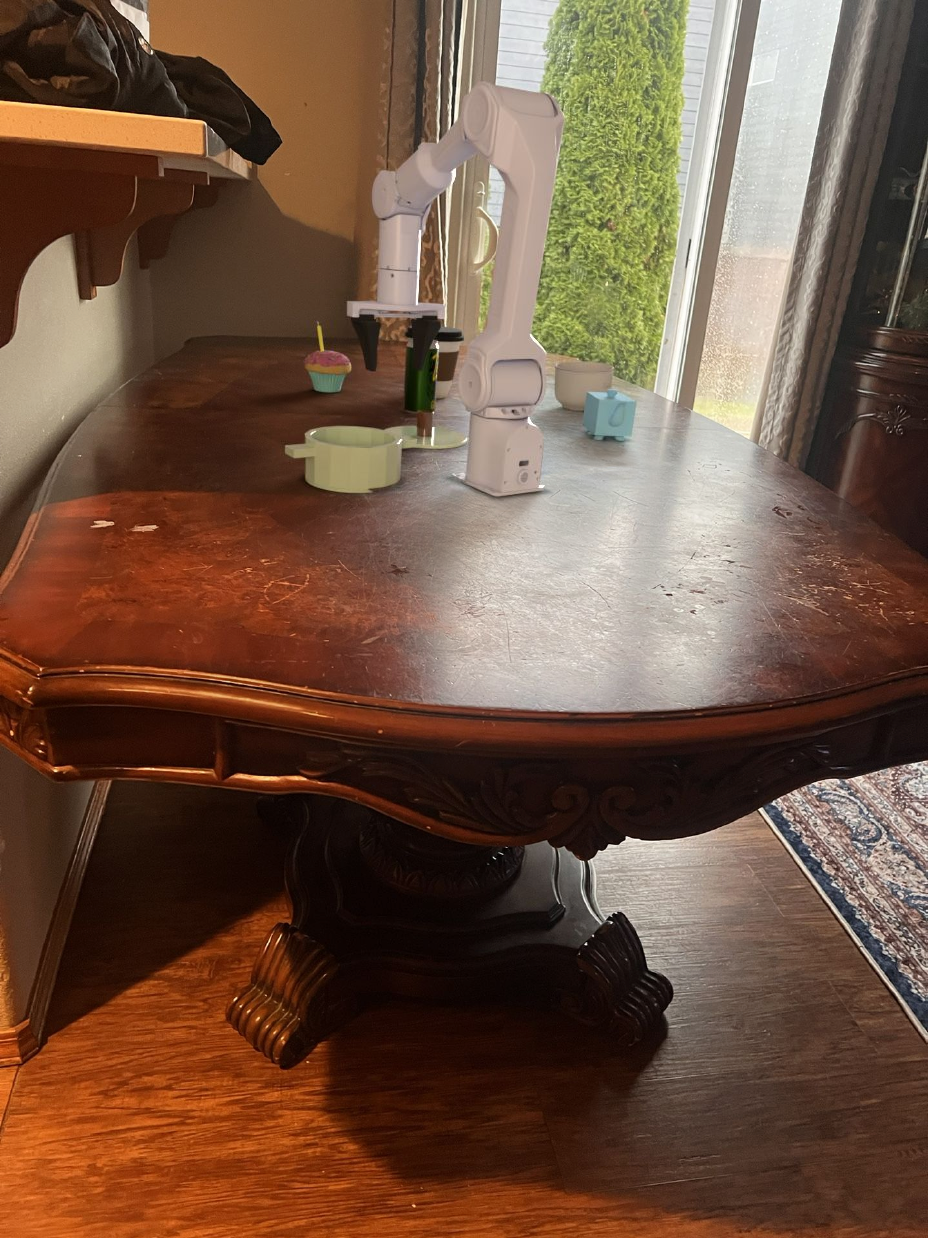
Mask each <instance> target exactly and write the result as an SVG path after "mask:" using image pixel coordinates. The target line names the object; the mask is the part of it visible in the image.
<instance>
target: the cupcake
mask: <svg viewBox="0 0 928 1238" xmlns="http://www.w3.org/2000/svg"><path fill="white" fill-rule="evenodd" d="M316 323H317V326H316V328H317V337H318V345H319V350H316V351H314V352H312V353H310V354H308V355H307V357H305V359H304V360H303V365H304V369H305V370H307V372H308V374H309V377H310V379H311V382H312V387H313V389H314V391H316V392H320V393H339V392H340V391H342V390H341V389H342V386H343V384H344V380H345V377H346V376H347V374H349V373H351V371H352V364H351V361H350V359H349V358H348V356H346V355H344V354H343V353H342V352H339V351H334V350H326V349H324V340H323V334H322V333H323V332H322V326H321V325H320V322H319V321H318V320H317V321H316Z"/></svg>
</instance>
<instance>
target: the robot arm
mask: <svg viewBox="0 0 928 1238" xmlns="http://www.w3.org/2000/svg"><path fill="white" fill-rule="evenodd" d="M460 108H461V109H460V116H459V117H458V118H457V119H456V121H455V122H454V123H453V124H452V125H451V126H450V127H449V129H448V130H447V131H446V132H445V134H444V135H442V137H441V138H440V139H439V141H438V142H437V143H435V142H425V141H422V142H421V143H419V145H417V149H416V150H415V152H414V153H412V155H411V156H409V157H408V158H407V159H406V160H405V161H404V162H403V163H401V165H400V166H399V167H398V168H397V169H396V170H391V171H390V170H385V169H382V170H380V171H379V172H378V174H377V175H376V177H375V179H374V181H373V183H372V184H373V185H372V188H371V206H372V209H373V212H374V214H375V216H376V217H377V218H379V219H378V220H379V223H378V253H377V254H378V255H377V257H378V258H377V283H376V284H377V287H376V289H377V290H376V300H352V301H351V300H347V301H346V316H347V317H350V324H351V325H352V327H353V329H354V331H355V334H356V336H357V339H358V342H359V345H360V348H361V352H362V357H363V362H364V367H365V370H366V371H369V372H377V367H378V343H379V338H380V333H381V328H382V323H381V322H380V321H377V318H404V319H405V318H410V326H412V335H413V355H412V366H413V369H416V370H419V371H423V369H424V365H425V361H426V358H427V355H428V352H429V349H430V347H431V344H432V342H433V340H434V338H435V336H436V335H437V333H438V331H439V330H440V328H441V326H442V320H445V314H446V304H442V303H435V302H434V303H432V302H418V301H419V282H420V281H419V280H420V262H421V261H420V260H421V259H420V258H421V239H422V238H421V237H422V236H424V234H425V232H426V223H427V219H428V216H429V214H430V211H431V206H432V202H433V201H434V200H435V199H436V198H437V197H439V196H440V195H441V194H442V193H443V192H445V190H447V189H448V188H449V187H450V186H452V184H453V183H454V181H455V178H456V170H457V168H459V167H460V166H461V165H463V164H464V163H466V162H467V161H469V160H470V159H471V158H473V157H474V156H476V155H477V154H479V155H480V156H481V157H482V158H483V159H484V160H485V161H486V162H487V163H488V164H489V165H490V167H492V168H494V169H496V170H497V172H498V174H499V176H500V177H501V179H502V181H503V183H504V193H503V197H502V207H501V214H500V221H499V229H498V230H499V231H498V236H497V244H496V252H495V258H494V259H495V260H494V267H493V274H492V282H491V289H490V297H489V304H488V309H487V311H488V312H487V319H486V327H485V328H484V330H482V331H481V332H480V333H479V334H478V335H477V336H475V337H474V338H473V339H472V340H471V341H470V342H469V343H468V344H467V345H466V351H465V357H464V361H463V363H462V366H461V367H460V369H459V373H458V377H457V392H458V395H459V398H460V400H461V402H462V405H463V406H464V407H465V411H466V412H469V413H470V416H469V428H468V429H469V431H468V440H467V442H468V444H467V454H466V455H467V456H466V467H465V468H466V469H465V472H458V473H452V474H451V476H453V477H455V478H457V479H459V480H461V483H463V484H465V485H467V486H470V487H472V488H474V489H476V490H479V491H481V492H483V493H485V494H488V495H490V496H493V497H496V498H497V497H505V496H511V495H512V496H513V495H521V494H526V493H534V492H542V491H544V490H545V485H542V484H541V475H542V466H543V457H544V447H545V441H544V440H545V439H544V435H543V433H542V430H541V429H540V428H539V427H538V426H537V425H535V424H533V422H532V421H531V419H530V416H534V415H535V408H538V406H540V404H541V403H542V402H543V400H544V398H545V396H546V392H547V391H546V390H547V386H548V385H547V383H548V382H547V381H548V380H547V374H546V361H547V355H548V354H547V351H546V350H545V349H544V347H543V346H542V345H541V344H540V343H539V342H538V341H537V340H536V339H535V338H534V336H533V335H532V328H533V322H534V317H535V311H536V303H537V297H538V291H539V285H540V279H541V278H540V277H541V271H542V266H543V259H544V253H545V246H546V242H547V241H546V240H547V234H548V227H549V221H550V216H551V210H552V209H551V208H552V203H553V195H554V189H555V183H556V177H557V170H558V166H559V165H558V163H559V158H560V152H561V145H562V140H563V132H564V126H565V119H566V117H565V113H564V111H562V109H561V107H560V105H559V103H558V101H557V99H556V98H555V96H554V95H552V93H549V92H546V91H543V92H542V91H541V92H537V91H531V90H525V89H520V88H515V87H510V86H503V85H498V84H493V83H491V82H489V81H485V80H483V81H478V82H477V83H476V84H474V85H473V87H472V88H471V89H470V91H469V92H468V93H466V94H465V95H464V96H463V98H462V102H461V107H460ZM389 311H390V312H389ZM398 312H400V313H398ZM403 312H406V313H403Z"/></svg>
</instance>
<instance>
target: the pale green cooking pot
mask: <svg viewBox="0 0 928 1238" xmlns="http://www.w3.org/2000/svg"><path fill="white" fill-rule="evenodd" d="M303 437H304V442H303V443H297V444H286V445H284V454H285V455H287V456H289V457H290V458H293V459H302V458H303V459H304V465H303V467H304V469H303V471H304V481H305V482H306V483H307V484H309V485H311V486H313V487H315V488H318V489H322V490H326V491H330V492H336V493H337V492H338V493H346V494H347V493H348V494H370V493H371V494H372V493H373V490H371V489H378V488H386V487H388V486H391V485H395V484H397V483H398V482H399V481H400V480H401V474H402V473H401V472H402V451H403V450H402V449H412V448H414V447H416V446H417V439H414V438H412V437H409V436H407V435H405V436H399V435H396V434H394V433H391V432H389V431H385V429H380V428H375V427H366V426H357V425H356V426H355V425H352V426H351V425H333V426H322V427H316V428H312V429H309V430H308V431H306V432H305V433H304V436H303Z"/></svg>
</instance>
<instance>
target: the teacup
mask: <svg viewBox="0 0 928 1238" xmlns="http://www.w3.org/2000/svg"><path fill="white" fill-rule="evenodd" d="M614 372H615V367H614V366H613V365H612V364H608V363H603V362H598V361H597V362H596V361H584V360H582V361H581V360H570V361H561V362H558V363H555V364H554V396H555V399H556V401H558V403H560V405H561V406H562V407H563V408H564V409H566V410H570V411H577V412H584V409H585V401H586V394H587V392H605V393H607V389H613V380H614Z"/></svg>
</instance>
